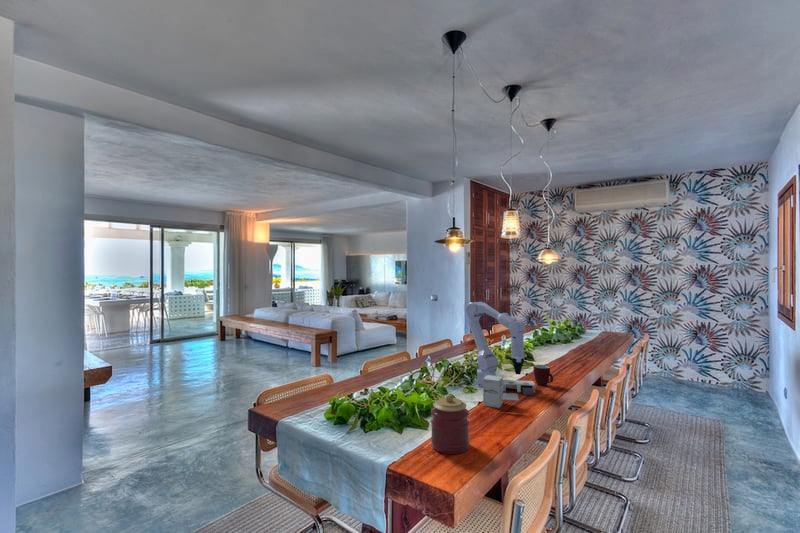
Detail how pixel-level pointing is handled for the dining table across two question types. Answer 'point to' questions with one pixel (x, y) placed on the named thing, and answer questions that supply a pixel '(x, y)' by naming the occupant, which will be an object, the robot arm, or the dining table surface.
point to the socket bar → (517, 384)
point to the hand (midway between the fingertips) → (517, 374)
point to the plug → (526, 390)
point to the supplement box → (492, 391)
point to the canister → (450, 426)
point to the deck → (510, 396)
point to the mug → (542, 374)
